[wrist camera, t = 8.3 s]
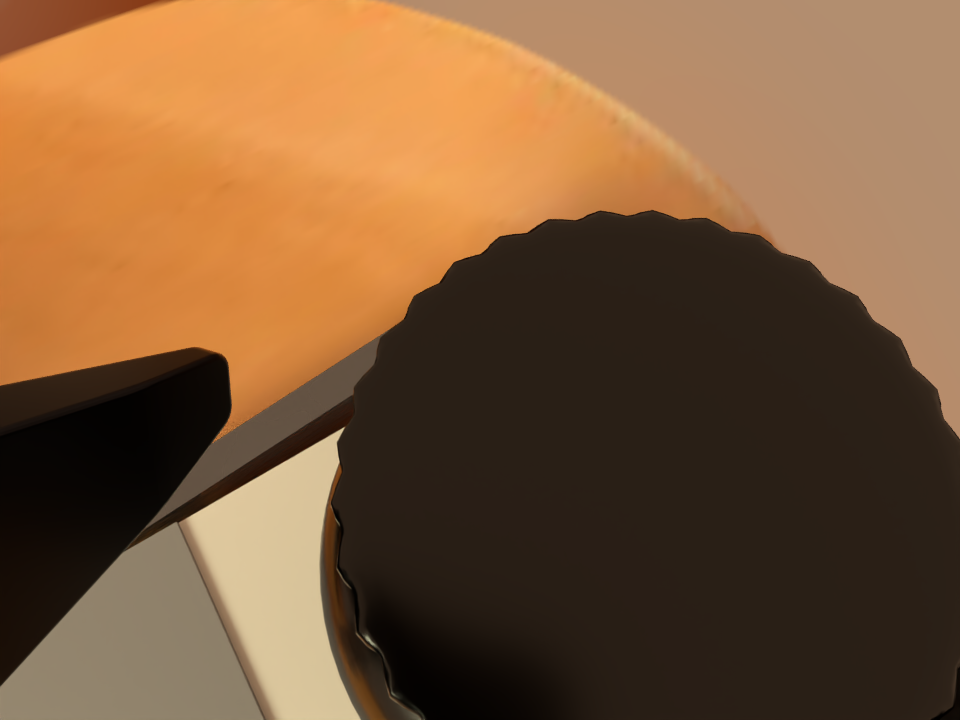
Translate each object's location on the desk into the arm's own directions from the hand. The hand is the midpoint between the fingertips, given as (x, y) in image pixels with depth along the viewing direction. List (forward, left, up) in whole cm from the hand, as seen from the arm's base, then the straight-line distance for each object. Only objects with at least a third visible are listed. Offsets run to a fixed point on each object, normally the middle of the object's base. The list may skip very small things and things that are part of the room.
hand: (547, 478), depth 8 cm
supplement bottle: (-1, -1, -9) cm, 9 cm away
